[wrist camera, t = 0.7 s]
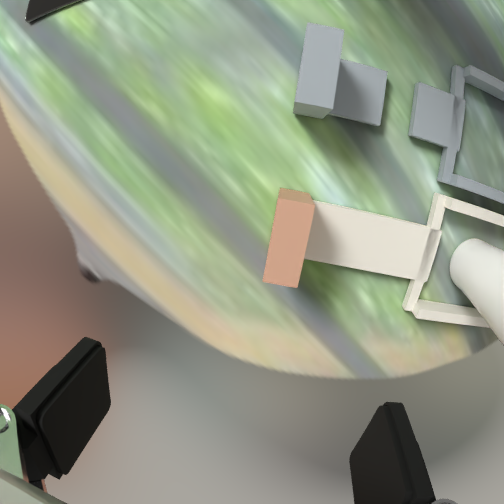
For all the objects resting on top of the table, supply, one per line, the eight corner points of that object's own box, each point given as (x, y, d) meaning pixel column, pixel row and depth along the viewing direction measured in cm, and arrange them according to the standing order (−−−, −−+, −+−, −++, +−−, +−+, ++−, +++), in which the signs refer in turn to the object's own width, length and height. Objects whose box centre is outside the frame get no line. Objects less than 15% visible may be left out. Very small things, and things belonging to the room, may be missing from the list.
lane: (285, 156, 26) (285, 157, 20) (521, 222, 25) (557, 238, 19) (262, 281, 30) (256, 314, 24) (488, 318, 28) (516, 347, 22)
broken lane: (307, 24, 22) (311, -8, 16) (537, 112, 21) (574, 111, 15) (287, 143, 26) (287, 141, 20) (523, 212, 25) (560, 226, 18)
